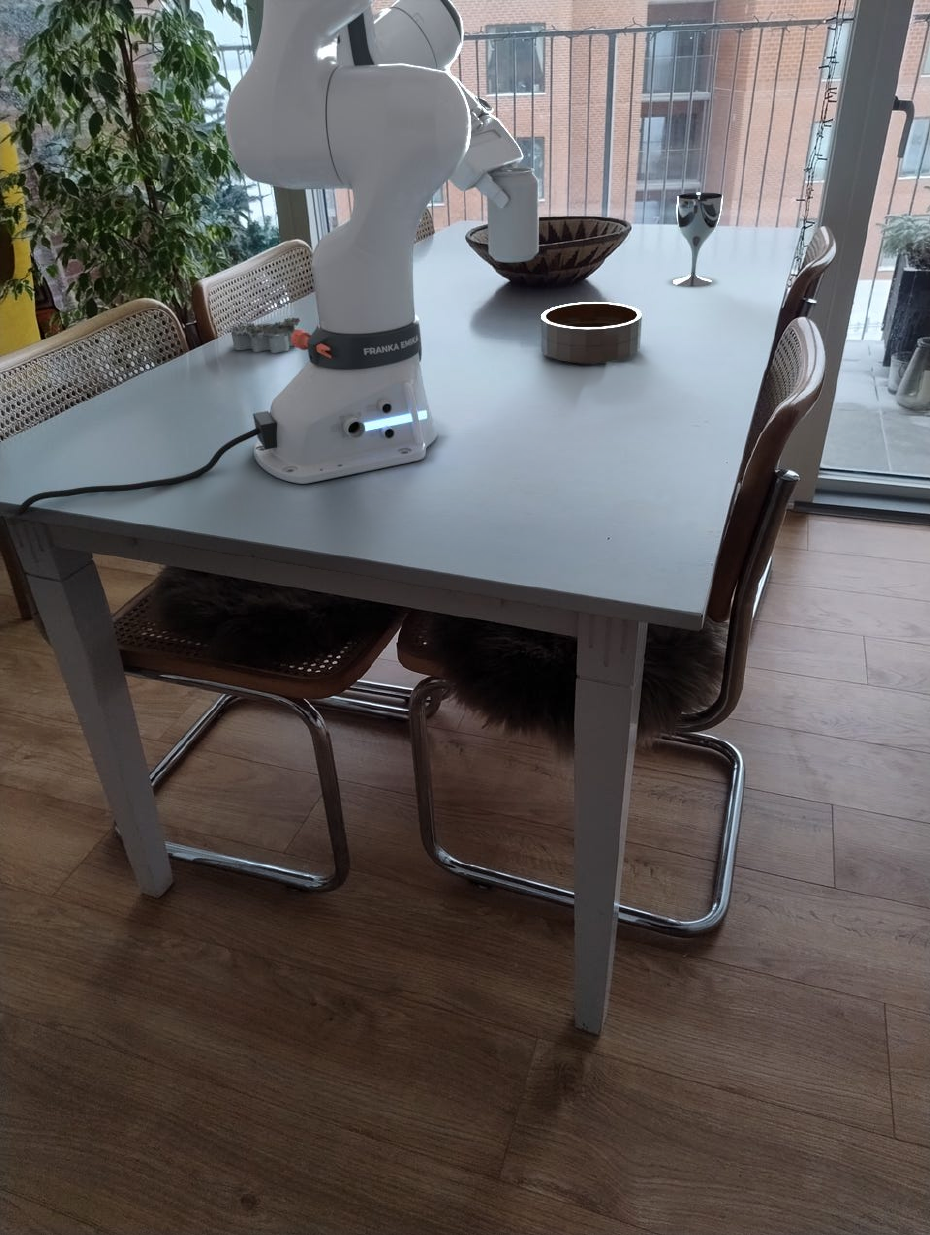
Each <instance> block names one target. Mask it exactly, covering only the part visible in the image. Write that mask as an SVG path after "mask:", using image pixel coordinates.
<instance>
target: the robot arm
mask: <svg viewBox="0 0 930 1235" xmlns="http://www.w3.org/2000/svg"><path fill="white" fill-rule="evenodd" d="M374 1H375V0H263V10H262V22H261V30H260V35H259V39H258V43H257V47H256V50H255V53H254V55H253V58H252V61H251V63H250V65H249V67H248V69H247V70H246V71H245V73H244V75H243V76H242V78H240V80H239V81H238V82H237V84H235V86H234V88H233V89H232V92H231V93H230V95H229V98H228V101H227V104H226V109H225V115H224V116H225V117H224V130H225V137H226V141H227V145H228V148H229V152H230V153H231V155H232V157H233V159H234V161H235V163H236V164H237V166H238V167H239V169H240V170H241V171H242V172H243V173H244V174H245V176H246V177H247V178H248V179H250V180H251V181H253V182H256V183H261V184H265V185H268V186H273V187H278V188H283V189H289V190H294V191H295V190H335V189H336V190H337V189H338V190H339V189H341V190H343V189H345V190H346V189H348V190H351V191H352V198H353V204H352V212H351V216H350V218H349V219H348V220H346V221H344V222H343V223H341V224H339V225H338V226H335V228H333V229H331V230H330V231H329V232H328V233H326V234H325V235H323V237H322V238H321V239H319V241H318V242H317V244H316V245H315V248H314V249H313V253H312V256H311V257H312V258H311V262H310V266H311V267H310V268H311V274H312V281H313V287H314V288H313V289H314V295H315V301H316V309H317V310H316V311H317V315H318V316H317V317H318V321H319V322H318V323H317V325H316V327H315V329H314V331H313V332H312V333H311V334H310V333H309V332H306V331H305V330H302V329H301V328H300V329H298V328H297V330H295V331H294V332H293V334H294V335H291V338H293V339H291V341H292V344H293V346H294V347H295V348H298V349H299V350H301V351H307V353H308V359H309V360H308V362H307V363H306V364H305V365H304V366H303V367H302V369H300V370H299V372H298V373H297V374H296V375H295V376H294V377H293V378H292V380H291V381H290V382H289V383H288V384H287V385H286V386H285V387H284V388H283V389H282V391H280V392H279V393H278V395H277V396H276V397H275V398H273V400H272V402H271V405H270V409H269V410H270V411H269V410H265V411H260V412H254V413H252V416H253V422H254V426H255V427H254V429H252V430H249V431H247V432H245V433H243V434H241V435H238V436H236V437H235V438H233V439H231V440H229V441H228V442H227V443H225V444H223V445H222V446H221V447H220V448H219V449H218V450H217V451H216V452H215V453H214V455H213V456H212V458H211V459H210V461H209V462H208V463H207V464H205V465H203V466H201V467H200V468H198V469H196V470H194V471H192V472H190V473H187V474H183V475H180V476H175V477H169V478H163V479H156V480H149V481H141V482H137V483H136V482H135V483H129V484H128V483H127V484H113V485H110V484H109V485H93V486H82V487H75V488H70V489H61V490H49V491H44V492H39V493H36V494H33V495H31V496H30V497H28V498H26V499H25V500H24V501H23V502H22V503H21V504H20V506H19V507H18V508H17V509H16V511H15V515H22V514H24V513H25V512H26V511H27V509H28V508H29V507H30V506H32V505H33V504H35V503H36V502H39V501H42V500H46V499H52V498H53V499H54V498H65V497H72V496H77V495H86V494H94V493H96V494H97V493H115V492H116V493H117V492H131V491H139V490H145V489H149V488H157V487H165V486H171V485H177V484H180V483H183V482H186V481H190V480H194V479H196V478H199V477H200V476H203V475H204V474H205V473H208V472H209V471H211V470H212V469H213V468H214V467H215V466H216V465H217V464H218V462H219V461H220V459H221V457H222V456H223V455H225V453H226V452H228V451H229V450H231V449H232V448H233V447H235V446H237V445H239V444H241V443H243V442H245V441H248V440H249V439H252V438H254V437H255V436H256V437H257V439H258V440H257V441H256V442H255V444H254V446H253V454H254V459H255V461H256V463H257V464H258V466H259V467H261V468H262V469H263V470H264V471H266V472H267V473H268V474H270V475H272V476H274V477H275V478H278V479H280V480H283V481H285V482H289V483H293V484H301V485H304V484H305V485H306V484H312V483H316V482H317V483H318V482H322V481H326V480H332V479H336V478H341V477H345V476H350V475H355V474H360V473H365V472H370V471H374V470H378V469H384V468H389V467H394V466H399V465H402V464H408V463H412V462H417V461H420V460H423V459H424V458H425V457H426V454H427V448H428V447H429V446H430V445H431V444H432V443H433V442H434V441H435V440H436V439H437V437H438V428H437V426H436V423H435V421H434V417H433V415H432V412H431V408H430V405H429V401H428V397H427V392H426V388H425V384H424V379H423V374H422V373H423V372H422V367H421V362H422V354H423V351H422V350H423V348H422V334H421V326H420V318H419V317H418V315H416V309H415V297H414V296H415V292H414V248H415V240H416V236H417V231H418V228H419V224H420V222H421V219H422V217H423V215H424V213H425V211H426V209H427V206H428V205H429V203H430V202H431V200H432V199H433V197H434V196H435V195H436V194H437V192H438V191H439V189H441V187H442V186H444V185H445V183H446V182H448V181H450V182H451V184H452V185H453V186H454V187H455V188H457V189H458V190H460V191H461V192H467V191H469V190H472V189H473V188H475V189H476V190H477V191H478V192H479V193H480V194H482V195H483V196H485V197H486V198H487V197H488V198H489V199H491V200H492V201H493V202H494V203H495V204H496V205H497V206H498V207H499V208H503V207H505V206H506V205H507V204H508V203H509V202H510V200H511V197H510V195H509V194H507V192H506V191H505V190H504V189H502V190H501V188H500V187H499V186H498V185H497V184H496V183H494V182H493V181H492V180H493V178H492V177H491V176H492V174H491V171H492V170H495V169H501V168H514V167H518V165H519V164H520V163H521V162H522V160H523V159H524V154H523V151H522V149H521V148H520V146H519V145H518V143H517V142H516V141H515V139H514V138H513V136H512V135H511V134H510V132H509V131H508V130H507V128H505V126H504V125H503V123H502V122H501V121H500V120H499V119H498V118H497V117H496V116H495V115H492V113H494V108H493V106H492V105H491V104H490V103H489V102H488V101H487V100H486V99H484V98H482V97H479V96H477V95H475V94H473V93H472V92H471V91H470V90H469V89H466V87H465V86H464V85H463V84H462V82H461V81H460V80H459V79H458V78H457V77H455V76H454V75H452V73H451V70H450V67H451V65H452V64H453V63H454V62H455V61H456V60H457V58H458V57H459V55H460V53H461V51H462V47H463V42H464V24H463V19H462V17H461V15H460V13H459V11H458V9H457V7H456V6H455V4H453V2H452V1H451V0H397V1H395V2H394V3H393V4H392V5H391V6H389V8H383V9H380V10H379V11H377V12H375V13H374V12H373V6H372V5H373V2H374Z"/></svg>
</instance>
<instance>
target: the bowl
mask: <svg viewBox="0 0 930 1235" xmlns="http://www.w3.org/2000/svg"><path fill="white" fill-rule="evenodd" d="M540 316H541V317H540V323H541V324H540V326H541V327H540V328H541V331H540V332H541V334H540V340H541V341H540V342H541V343H540V348H541V353H543V354H544V355H545V356H546V357H549V358H551V359H553V360H558V361H562V362H567V363H573V364H583V365H585V364H586V365H587V364H588V365H589V364H590V365H591V364H594V365H595V364H604V363H610V362H615V361H620V360H623V359H626V358H630V357H632V356H634V355H636V354H638V352H639V350H640V349H641V338H642V321H643V315H642V313H641V310H639V309H637V308H636V307H633V306H628V305H625V304H621V303H612V302H597V301H594V302H577V303H568V304H563V305H559V306H555V307H551V308H550V309H547V310H545V311H544V312H543V313H542V314H541V315H540Z"/></svg>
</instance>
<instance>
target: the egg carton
mask: <svg viewBox="0 0 930 1235" xmlns="http://www.w3.org/2000/svg"><path fill="white" fill-rule="evenodd" d="M300 322H301V320H300V318H299V317H287V318H284V319H283V321H282V322H281V321H278V320H277V321H275V323H270V322H267V323H259V324H256V325H255V323H254V322H248V321H247V322H246V324H245V323H244V322H241V324H237V325H232V327H226V329H227V330H228V331H230V332H231V337H232V342H233V347H235V350H236V351H243V350H248V349H251V350H252V351H253V352H255V353H259V352H263V351H270V352H271V354H278V353H281V352H282V353H283V352H288V351H289V350H290V347H293V346H294V345H293V344H292V341H291V339H293V338H291V335H294V334H293V332H294V331H295V330H298V328H297V326H298V325H299V323H300Z"/></svg>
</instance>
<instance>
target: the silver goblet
mask: <svg viewBox="0 0 930 1235" xmlns="http://www.w3.org/2000/svg"><path fill="white" fill-rule="evenodd" d="M723 196H724V195H723V194H721V193H717V192H689V193H683V194H679V195H678V196H677V202H676V203H677V204H676V220H677V226H678V229H679V231H680V233H681V235H682V236H683V238H684V239H685V241H686V243H688V246H689V248H690V251H691V271H690V274H689V275H688V276H686V277H681V278H677V279H674V280H673V284H675V285H676V286H681V287H691V288H692V287H693V288H695V287H704V286H705V287H706V286H709V285H711V284H712V280H710V279H708V278H704V277H700V276H698V275H696V274H697V273H696V270H697V269H696V268H697V262H698V257H699V253H700V249H701V248H702V246H703V245H704V243H705V242H706V241H707V240H708V238H710V236H711V235H712V234H713V233H714V232H715V231H716V228H717V226H718V223H719V220H720V218H721V217H720V216H721V212H722V206H723V198H724V197H723Z"/></svg>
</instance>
